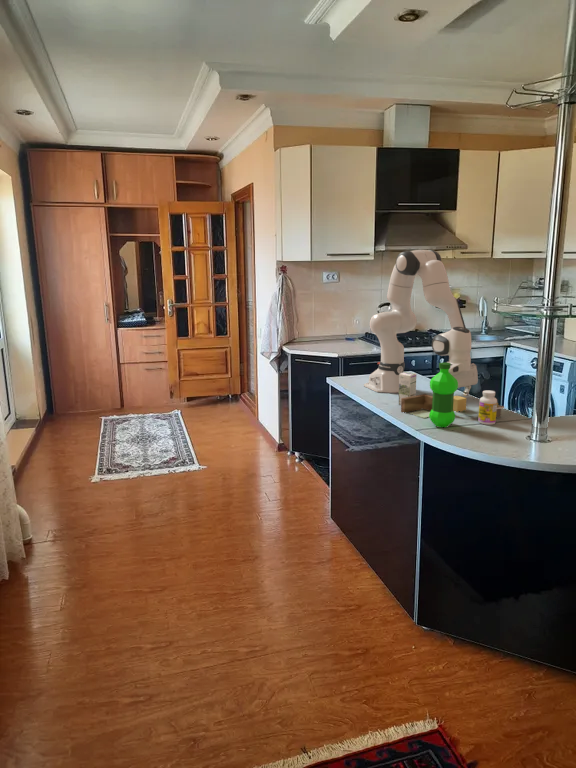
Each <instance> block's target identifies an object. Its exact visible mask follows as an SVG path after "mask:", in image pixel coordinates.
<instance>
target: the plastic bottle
mask: <svg viewBox="0 0 576 768" xmlns="http://www.w3.org/2000/svg"><path fill="white" fill-rule="evenodd" d="M450 366H451V364H450V363H446V362H444V361H443V362H438V368H439V372H438V373H436V374H435V375H434V376H432V378H431V379H430V381H429V388H430V390H431V391H432V396H433V401H432V410H431V411H429V412H430V414H429V417H428V418H429V420H430V421H431V423H432V424H433V425H434V426H435V425H436V426H435V427H437V426H438V428H443V427H444V428H448V427H449V426H450V425H451V424H453V423H454V421H455V419H456V414H455V413H456V412H454V411H453V402H454V396H455V392H456V391H458V389H459V388H458V382H457V380H456V379H455V378H454V377H453V376H452V375H451V374H450V373H449V369H450ZM447 426H448V427H447Z"/></svg>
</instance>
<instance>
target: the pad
mask: <svg viewBox="0 0 576 768" xmlns="http://www.w3.org/2000/svg"><path fill="white" fill-rule="evenodd" d="M430 412H431V411H429V410H426V409H421V410H416V411H412V412H409V414H410V415H412V414H413V415H412V416H415V417H417V418H421V419H428V418H430V417H429V414H430ZM427 417H428V418H427Z"/></svg>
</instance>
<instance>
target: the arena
mask: <svg viewBox="0 0 576 768" xmlns="http://www.w3.org/2000/svg"><path fill="white" fill-rule="evenodd" d="M432 401H433V395H430V394H426V393H421V394H416V396H411V397H406V398H401V405H400V412H401V413H403V412H404V414H405V412H406V413H411V412H416V411H421V410H425V411H428V412H431V410H432ZM415 410H416V411H415ZM410 411H411V412H410Z"/></svg>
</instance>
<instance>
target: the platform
mask: <svg viewBox="0 0 576 768" xmlns="http://www.w3.org/2000/svg"><path fill="white" fill-rule="evenodd" d="M502 409H505V405H504V406H503V405H499V403H498V402H497V412H496V417H498V418H501V415H502Z"/></svg>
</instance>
